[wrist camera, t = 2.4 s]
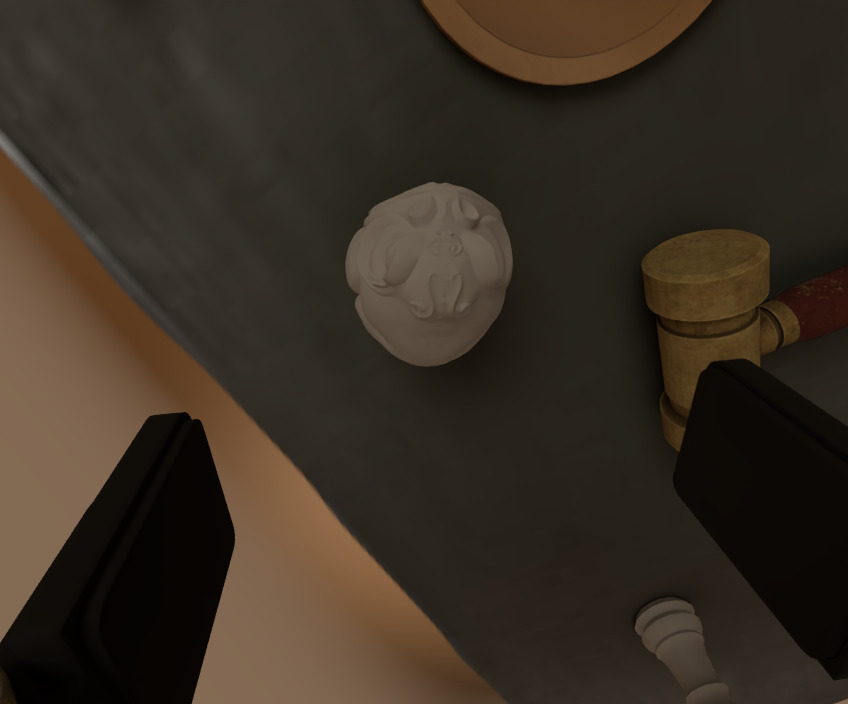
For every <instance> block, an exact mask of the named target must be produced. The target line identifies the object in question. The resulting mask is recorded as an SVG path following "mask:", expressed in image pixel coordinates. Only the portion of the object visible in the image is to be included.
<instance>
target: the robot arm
mask: <svg viewBox="0 0 848 704" xmlns="http://www.w3.org/2000/svg"><path fill="white" fill-rule="evenodd" d="M673 484H674V488H675V490H676V492H677V494H678V496H679V497H680V498H681V499H682V501H683V502H684V503H685V504H686V506H687V507H688V508H689V509H690V511H691V512H692V513H693V514H694V516H695V517H696V518H697V519H698V521H699V522H700V523H701V524H702V526H703V527H704V528H705V529H706V531H707V532H708V533H709V534H710V536H711V537H712V538H713V539H714V541H715V542H716V543H717V544H718V546H719V547H720V548H721V549H722V551H723V552H724V553H725V554H726V556H727V557H728V558H729V559H730V561H731V562H732V563H733V564H734V566H735V567H736V568H737V569H738V571H739V572H740V573H741V574H742V576H743V577H744V578H745V579H746V581H747V582H748V583H749V584H750V586H751V587H752V588H753V589H754V591H755V592H756V593H757V594H758V596H759V597H760V598H761V599H762V601H763V602H764V603H765V604H766V606H767V607H768V608H769V609H770V611H771V612H772V613H773V614H774V616H775V617H776V618H777V619H778V621H779V622H780V623H781V624H782V626H783V627H784V628H785V629H786V631H787V632H788V633H789V634H790V636H791V637H792V638H793V639H794V641H795V642H796V643H797V644H798V646H799V647H800V648H801V649H802V650H803V651H804V652H805V653H806V654H807V655H808V656H810V657H811V658H814V659H817V660H818V661H819V663H820V664H821V665H822V666H823V668H824V669H825V670H826V671H827V673H828V674H829V675H830V676H831V677H832V679H833V680H840V679H846V678H848V427H847V426H846V425H844V424H843V423H841V422H840V421H838V420H837V419H835V418H834V417H832V416H831V415H829V414H828V413H826V412H825V411H823V410H822V409H821V408H819V407H818V406H816V405H815V404H813V403H812V402H810V401H809V400H807V399H806V398H804V397H803V396H801V395H800V394H798V393H797V392H795V391H794V390H793V389H791V388H790V387H788V386H787V385H785V384H784V383H782V382H781V381H779V380H778V379H776V378H775V377H773V376H772V375H770V374H769V373H767V372H766V371H765V370H763V369H762V368H760V367H759V366H757V365H756V364H754V363H753V362H751V361H749V360H747V359H742V358H740V359H730V360H719V361H713V362H711V363H710V364H709V365H708V366H707V368H706V369H705V370H703V371H702V372H701V373H700V375H699V377H698V381H697V385H696V389H695V393H694V397H693V401H692V405H691V408H690V412H689V416H688V420H687V424H686V428H685V432H684V436H683V440H682V444H681V447H680V451H679V455H678V459H677V463H676V467H675V471H674V475H673ZM234 544H235V532H234V526H233V523H232V520H231V516H230V513H229V510H228V507H227V503H226V500H225V497H224V494H223V490H222V487H221V484H220V480H219V477H218V474H217V471H216V467H215V464H214V461H213V458H212V454H211V451H210V447H209V444H208V441H207V437H206V434H205V431H204V428H203V425H202V423H201V421H200V420H198V419H193V420H192V419H191V417H190V416H189V414H188V413H186V412H182V413H170V414H160V415H152V416H150V417H149V418H148V419H147V420H146V421H145V423H144V424H143V426H142V428H141V429H140V430H139V432H138V434H137V435H136V437H135V438H134V440H133V441H132V443H131V445H130V446H129V447H128V449H127V451H126V452H125V454H124V455H123V457H122V458H121V460H120V461H119V463H118V464H117V466H116V468H115V469H114V471H113V472H112V474H111V475H110V477H109V479H108V480H107V482H106V483H105V484H104V486H103V488H102V489H101V491H100V492H99V494H98V495H97V497H96V498H95V500H94V501H93V503H92V504H91V505H90V506H89V508H88V509H87V511H86V512H85V514H84V515H83V517H82V518H81V520H80V521H79V523H78V524H77V526H76V527H75V529H74V530H73V532H72V533H71V535H70V537H69V538H68V540H67V541H66V543H65V544H64V546H63V547H62V549H61V550H60V552H59V554H58V555H57V557H56V558H55V560H54V561H53V563H52V564H51V566H50V567H49V569H48V571H47V572H46V573H45V575H44V576H43V578H42V580H41V581H40V583H39V584H38V586H37V587H36V589H35V591H34V592H33V594H32V595H31V597H30V598H29V600H28V601H27V603H26V604H25V606H24V607H23V609H22V610H21V612H20V613H19V615H18V617H17V618H16V620H15V621H14V623H13V624H12V626H11V627H10V629H9V630H8V632H7V633H6V635H5V637H4V638H3V639H2V641H1V643H0V704H192V700H193V697H194V693H195V689H196V686H197V682H198V678H199V675H200V671H201V667H202V664H203V660H204V656H205V653H206V649H207V645H208V642H209V638H210V634H211V631H212V627H213V623H214V620H215V616H216V612H217V608H218V605H219V601H220V598H221V594H222V590H223V587H224V583H225V579H226V575H227V572H228V568H229V565H230V560H231V557H232V553H233V550H234Z"/></svg>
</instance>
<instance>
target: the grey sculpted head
mask: <svg viewBox="0 0 848 704" xmlns="http://www.w3.org/2000/svg"><path fill="white" fill-rule="evenodd" d="M345 263H346V277H347V282H348V285H349V286H350V287H351V289H352V290H353V291H355V292H356V293H358V294H359V295H358V296H357V298H356V301H355V307H356V310H357V312H358V314H359V316H360V318H361V320H362V322H363V324H364V326H365V328H366V329H367V330H368V332H369V333H370V334H371V335H372V336H373V337H374V338H375V339H376V340H377V341H379V342H380V343H381V344H382V345H383V346H384V347H385V348H386V349H387V350H388V351H389V352H390V353H391V354H393V355H394V356H396V357H397V358H399V359H401V360H403V361H405V362H407V363H410V364H413V365H417V366H425V367H428V366H436V365H441V364H445V363H447V362H450V361H452V360H454V359H456V358H458V357H460V356H462V355H463V354H465V353H466V352H468V351H469V350H470V349H471V348H472V347H473V346H474V345H475V344H476V343H477V342H478V341H479V340H480V339H481V338H482V336H483V335H484V334H485V333H486V332H487V330H488V329H489V328H490V326H491V325H492V323H493V321H494V320H496V319H497V316H498V315H499V313H500V311H501V309H502V306H503V302H504V300H505V291H506V288H507V286H508V284H509V282H510V280H511V276H512V267H513V257H512V251H511V245H510V240H509V235H508V233H507V231H506V228H505V227H504V223H503V220H502V218H501V213H500V211H499V210H498V209H497V208H496V207H495V206H494V205H493V204H492V203H490V202H489V201H487V200H486V199H485V198H483V197H481V196H480V195H478V194H476V193H475V192H473V191H471V190H469V189H466V188H463V187H460V186H455V185H451V184H449V183H443V184H437V183H434V182H430V183H427V184H424V185H421V186H418V187H416V188H413V189H411V190H408V191H405V192H404V193H402V194H400V195H397V196H395V197H392V198H390V199H388V200H386V201H384V202H381V203H379V204H377V205H376V206H375V207H373V208H372V209H371V211H370V212H369V216H368V217H367V218H366V219H365V221H364V227H363V228H361V229H360V230H358V232H357V233H356V234H355V235H354V237H353V239H352V241H351V243H350V245H349V248H348V251H347V256H346V262H345Z"/></svg>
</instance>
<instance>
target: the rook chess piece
mask: <svg viewBox="0 0 848 704" xmlns="http://www.w3.org/2000/svg"><path fill="white" fill-rule="evenodd" d="M694 613H695V610H694V608H693V606H692V605H691V604H689V603H687V602H685V601H683V600H681V599H679V598H674V597H667V598H661V599H658V600H655V601H653V602H651V603H649V604H647V605H646V606H645V607H643V608H642V609H641V610H640V612H639V613H638V614H637V618H636V624H635V630H636V632H637V634H638V635H640V636H642V642H643V644H644V645H645V647H646V648H647V649H648V650H649V651H650V652H652V653H655V654H656V656H657V658H658V659H659V660H661V661H663V662H664V663H665V665H666V666H667V667H668V668H669V669H670V671H671V672H672V674H673V675H674V677H675V678H676V680H677V681H678V683H679V684H680V686H681V687H682V689H683V691H684V693H685V695H686V701H685V702H686V704H736V703H734V702H733V701H732V700H731V698H730V697H729V695H728V694H729V688H728V686H727V685H726V684H724V683H722V682H721V681H720V679H719V677H718V676H717V674H716V672H715V671H714V668H713V666H712V664H711V662H710V660H709V657H708V655H707V653H706V650H705V647H704V641H705V640H704V638H703V636H702V631H703V627H702V624H701V622H700V619H699V617H697V616H695V615H694Z"/></svg>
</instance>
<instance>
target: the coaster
mask: <svg viewBox="0 0 848 704" xmlns="http://www.w3.org/2000/svg"><path fill="white" fill-rule="evenodd" d="M419 1H420V3H421V5H422V7H423V8H424V10H425V11H426V12H427V14H428V15H429V16H430V17H431V19H432V20H433V21H434V23H435V24H436V25H437V27H438V28H439V29H440V30H441V31H442V32H443V33H444V34H445V35H446V36H447V37H448V38H449V39H450V40H451V41H452V42H453V43H454V44H455V45H456V46H457V47H458V48H459V49H460V50H461V51H463V52H464V53H465V54H467V55H468V56H469V57H471V58H472V59H473V60H475V61H476V62H477V63H479V64H481V65H483V66H485V67H487V68H488V69H490V70H492V71H494V72H496V73H498V74H500V75H503V76H506V77H509V78H512V79H514V80H517V81H521V82H527V83H532V84H537V85H555V86H568V85H576V84H584V83H590V82H594V81H598V80H601V79H605V78H609V77H612V76H614V75H616V74H619V73H621V72H623V71H626V70H628V69H631V68H633V67H634V66H636V65H638V64H640V63H641V62H643V61H645V60H646V59H648V58H650V57H652V56H653V55H655V54H656V53H657V52H659V51H660V50H661V49H663V48H664V47H665V46H667V45H668V44H669V43H671V42H672V41H673V40H675V39H676V38H677V37H678V36H679V35H680V34H681V33H682V32H683V31H684V30H685V29H686V28H687V27H689V26H690V25H691V24H692V23H693V22H694V21H695V20H696V19H697V18H698V16H699V15H700V14H701V13H702V12H703V11H704V9H705V8H706V7H707V6H708V5H709V4H710V3H711V1H712V0H419Z"/></svg>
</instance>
